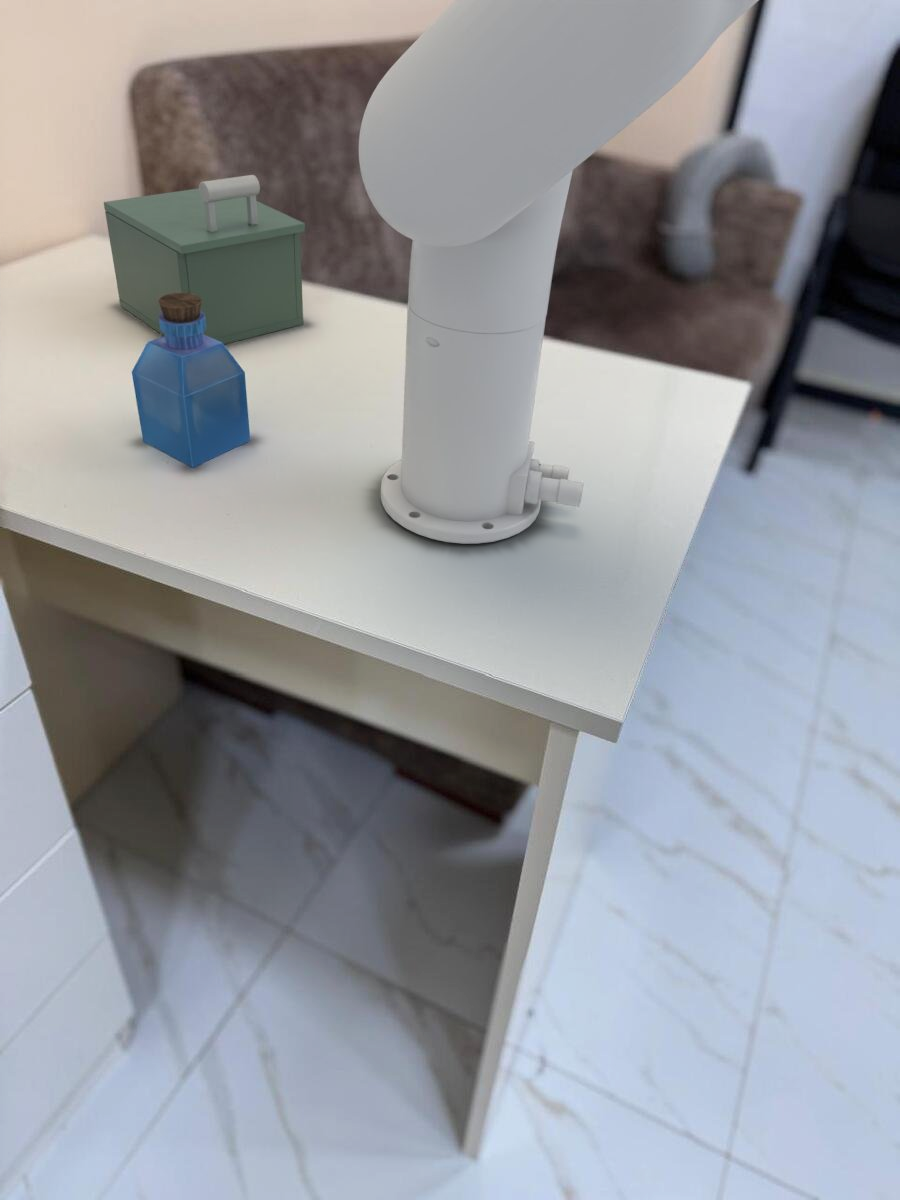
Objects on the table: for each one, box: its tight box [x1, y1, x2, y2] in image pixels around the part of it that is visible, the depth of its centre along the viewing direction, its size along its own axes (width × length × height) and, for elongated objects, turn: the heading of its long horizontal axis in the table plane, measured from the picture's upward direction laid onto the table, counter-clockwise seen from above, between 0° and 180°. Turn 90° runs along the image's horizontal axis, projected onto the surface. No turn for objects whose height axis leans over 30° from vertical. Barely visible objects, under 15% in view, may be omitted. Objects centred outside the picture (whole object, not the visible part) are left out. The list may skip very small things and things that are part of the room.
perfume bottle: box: [131, 293, 251, 468], centre depth 72 cm, size 6×6×12 cm
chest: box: [104, 210, 304, 345], centre depth 94 cm, size 15×14×10 cm
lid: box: [103, 174, 306, 254], centre depth 89 cm, size 16×14×5 cm
